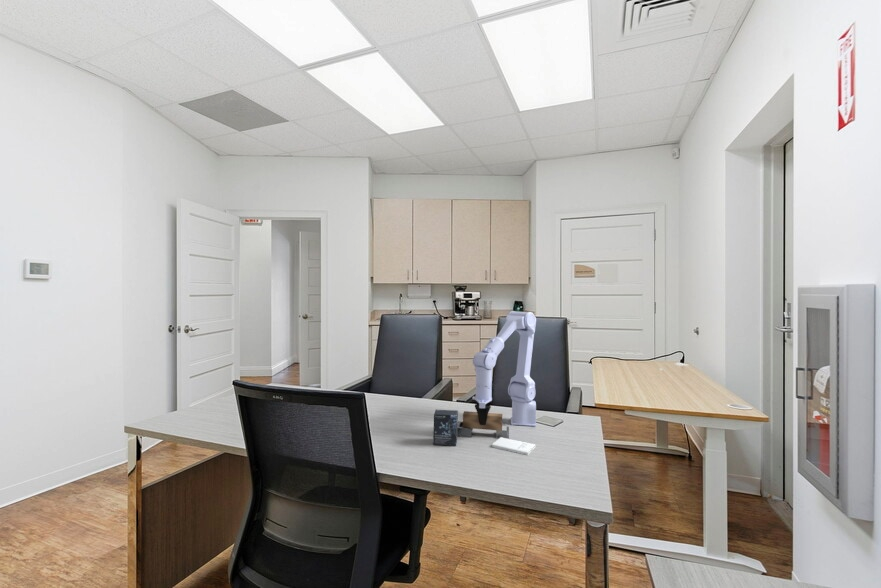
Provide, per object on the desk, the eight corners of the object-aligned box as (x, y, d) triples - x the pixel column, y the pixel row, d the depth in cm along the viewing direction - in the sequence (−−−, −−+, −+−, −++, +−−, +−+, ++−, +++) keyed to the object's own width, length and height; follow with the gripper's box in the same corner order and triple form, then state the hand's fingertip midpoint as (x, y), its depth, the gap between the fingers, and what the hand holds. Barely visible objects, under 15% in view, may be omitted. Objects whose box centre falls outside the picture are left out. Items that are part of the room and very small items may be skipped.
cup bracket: (472, 430, 154) (472, 422, 154) (470, 437, 147) (471, 428, 146) (458, 429, 155) (458, 421, 155) (455, 435, 147) (455, 427, 147)
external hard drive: (501, 441, 145) (535, 448, 138) (491, 449, 138) (527, 456, 131) (501, 436, 145) (535, 443, 138) (491, 444, 138) (527, 451, 131)
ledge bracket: (508, 433, 151) (508, 426, 151) (508, 439, 145) (508, 432, 145) (496, 432, 152) (496, 425, 152) (495, 438, 146) (495, 431, 146)
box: (433, 445, 138) (433, 413, 138) (434, 439, 144) (435, 409, 144) (456, 446, 137) (457, 414, 137) (457, 440, 143) (457, 410, 143)
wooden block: (502, 427, 150) (502, 413, 150) (501, 430, 147) (502, 416, 147) (463, 424, 152) (464, 411, 152) (462, 427, 149) (463, 413, 149)
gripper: (474, 380, 157) (473, 416, 157) (470, 389, 143) (470, 428, 143) (493, 381, 156) (492, 417, 156) (491, 390, 142) (490, 430, 142)
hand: (483, 422), depth 149 cm, fingers closed on wooden block, 3 cm apart
